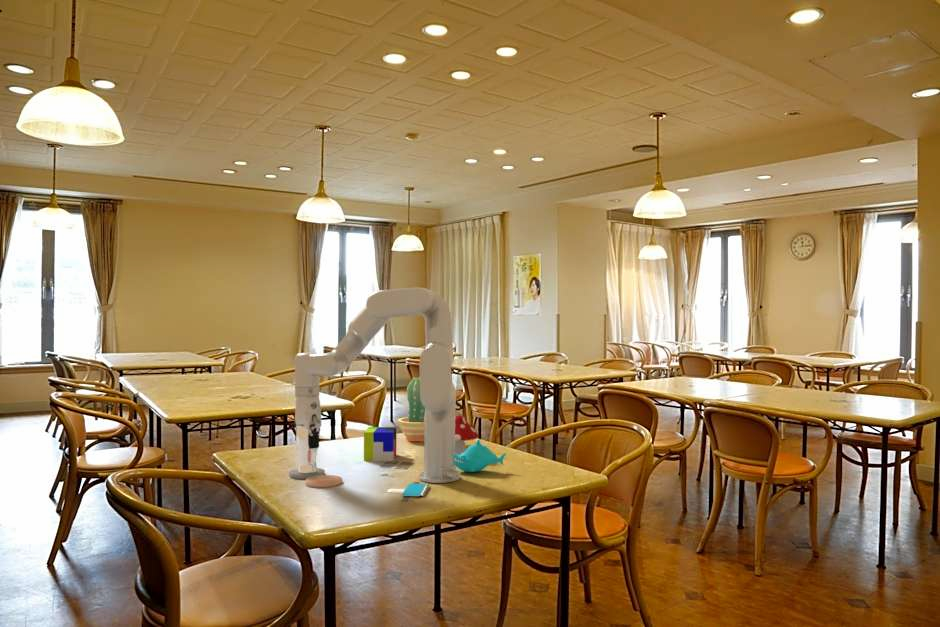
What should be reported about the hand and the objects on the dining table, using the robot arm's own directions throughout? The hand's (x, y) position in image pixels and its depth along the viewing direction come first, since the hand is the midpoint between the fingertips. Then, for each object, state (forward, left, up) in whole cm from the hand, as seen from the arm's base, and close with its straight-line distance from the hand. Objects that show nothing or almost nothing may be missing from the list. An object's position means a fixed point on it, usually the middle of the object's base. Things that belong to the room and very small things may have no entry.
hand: (307, 445), depth 210 cm
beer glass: (0, 0, -8) cm, 9 cm away
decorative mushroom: (-9, -54, -10) cm, 55 cm away
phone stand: (-35, -15, -10) cm, 40 cm away
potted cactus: (+26, -59, -10) cm, 65 cm away
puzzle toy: (+7, -31, -10) cm, 33 cm away
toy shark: (-30, -46, -10) cm, 56 cm away
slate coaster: (0, 0, -9) cm, 9 cm away
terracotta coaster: (-12, 0, -9) cm, 15 cm away
